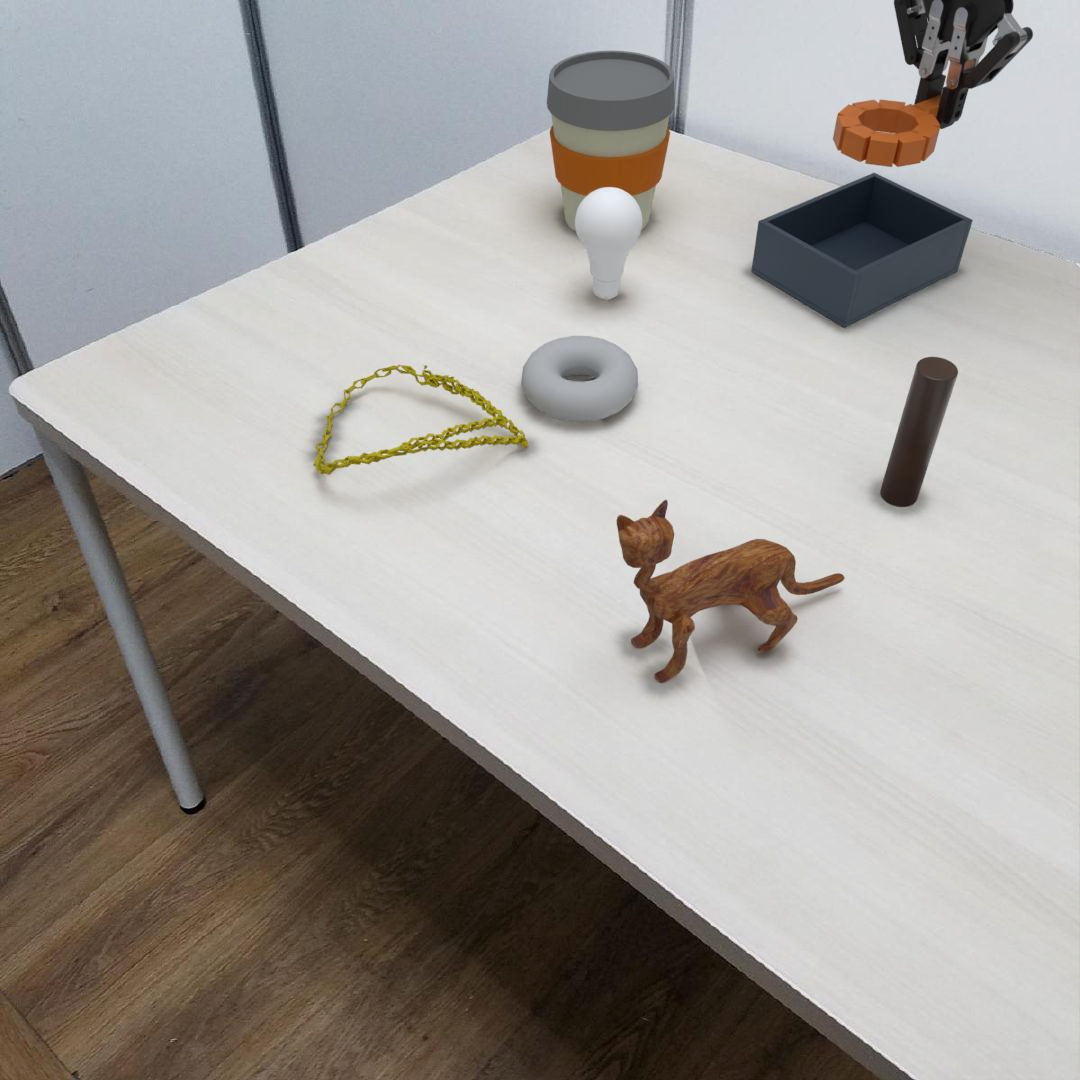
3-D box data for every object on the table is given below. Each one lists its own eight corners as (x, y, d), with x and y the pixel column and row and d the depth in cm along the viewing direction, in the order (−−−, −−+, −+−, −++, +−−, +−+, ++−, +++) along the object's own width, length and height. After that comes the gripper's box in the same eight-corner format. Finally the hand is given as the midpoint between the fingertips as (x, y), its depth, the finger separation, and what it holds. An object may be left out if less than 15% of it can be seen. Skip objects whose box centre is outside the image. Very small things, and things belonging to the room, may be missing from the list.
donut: (644, 367, 95) (534, 353, 96) (647, 335, 92) (534, 321, 94) (628, 438, 88) (509, 422, 89) (630, 405, 85) (509, 389, 87)
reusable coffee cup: (523, 217, 114) (519, 74, 103) (606, 178, 120) (610, 39, 109) (607, 261, 107) (612, 114, 96) (690, 218, 113) (704, 74, 102)
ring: (889, 176, 92) (894, 151, 90) (813, 139, 97) (817, 116, 95) (984, 136, 97) (991, 112, 95) (907, 103, 102) (912, 80, 100)
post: (907, 480, 84) (946, 353, 75) (923, 504, 82) (965, 377, 73) (873, 486, 83) (909, 359, 75) (889, 510, 81) (927, 382, 73)
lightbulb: (561, 303, 102) (561, 195, 94) (596, 274, 105) (599, 168, 98) (616, 323, 99) (620, 214, 92) (649, 293, 103) (657, 186, 95)
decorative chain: (532, 445, 87) (532, 396, 84) (398, 530, 79) (392, 479, 76) (396, 380, 96) (391, 334, 93) (261, 451, 87) (252, 402, 84)
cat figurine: (814, 557, 78) (850, 409, 68) (869, 620, 74) (916, 470, 64) (593, 639, 73) (597, 490, 63) (638, 710, 68) (651, 563, 59)
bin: (863, 221, 112) (874, 172, 108) (957, 271, 105) (973, 219, 101) (751, 271, 105) (758, 220, 102) (843, 327, 98) (855, 275, 95)
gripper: (1091, -78, 84) (1022, 137, 96) (950, -116, 92) (903, 87, 104) (1031, -59, 81) (968, 160, 93) (891, -100, 89) (850, 107, 101)
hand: (934, 120), depth 99 cm, fingers closed on ring, 1 cm apart
